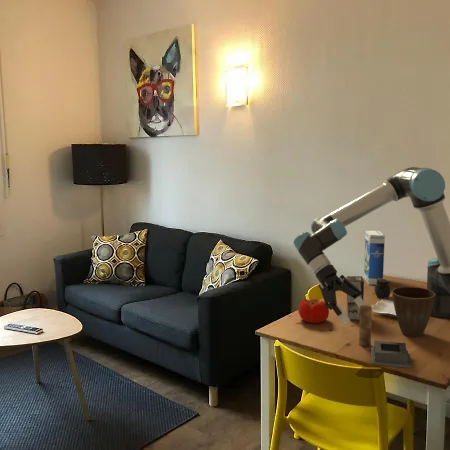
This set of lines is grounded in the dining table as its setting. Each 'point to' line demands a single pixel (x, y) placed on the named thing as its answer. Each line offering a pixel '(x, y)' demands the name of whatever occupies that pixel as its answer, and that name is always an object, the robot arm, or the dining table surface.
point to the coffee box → (352, 307)
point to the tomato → (313, 310)
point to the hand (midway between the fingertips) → (357, 317)
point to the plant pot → (413, 309)
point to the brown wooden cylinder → (365, 326)
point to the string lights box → (374, 256)
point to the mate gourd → (382, 288)
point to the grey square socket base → (390, 354)
